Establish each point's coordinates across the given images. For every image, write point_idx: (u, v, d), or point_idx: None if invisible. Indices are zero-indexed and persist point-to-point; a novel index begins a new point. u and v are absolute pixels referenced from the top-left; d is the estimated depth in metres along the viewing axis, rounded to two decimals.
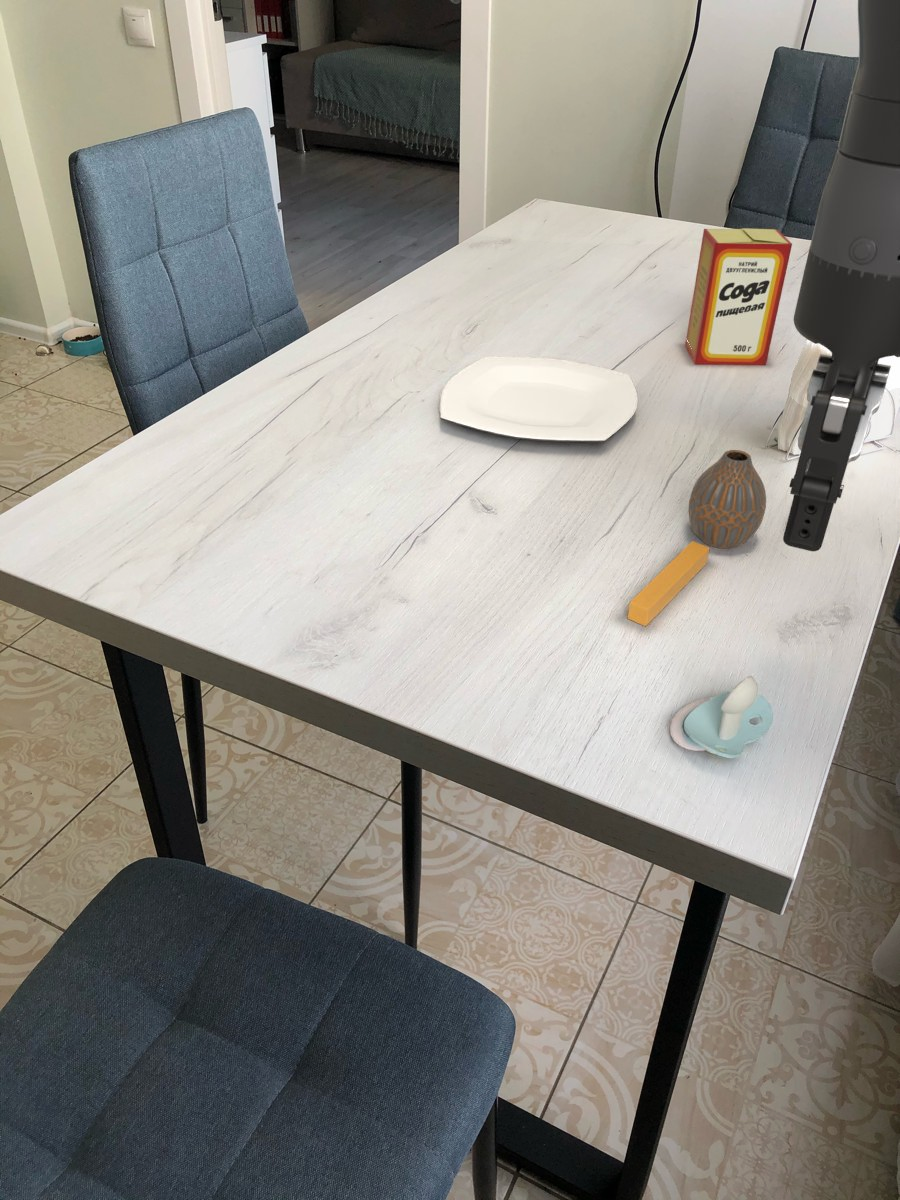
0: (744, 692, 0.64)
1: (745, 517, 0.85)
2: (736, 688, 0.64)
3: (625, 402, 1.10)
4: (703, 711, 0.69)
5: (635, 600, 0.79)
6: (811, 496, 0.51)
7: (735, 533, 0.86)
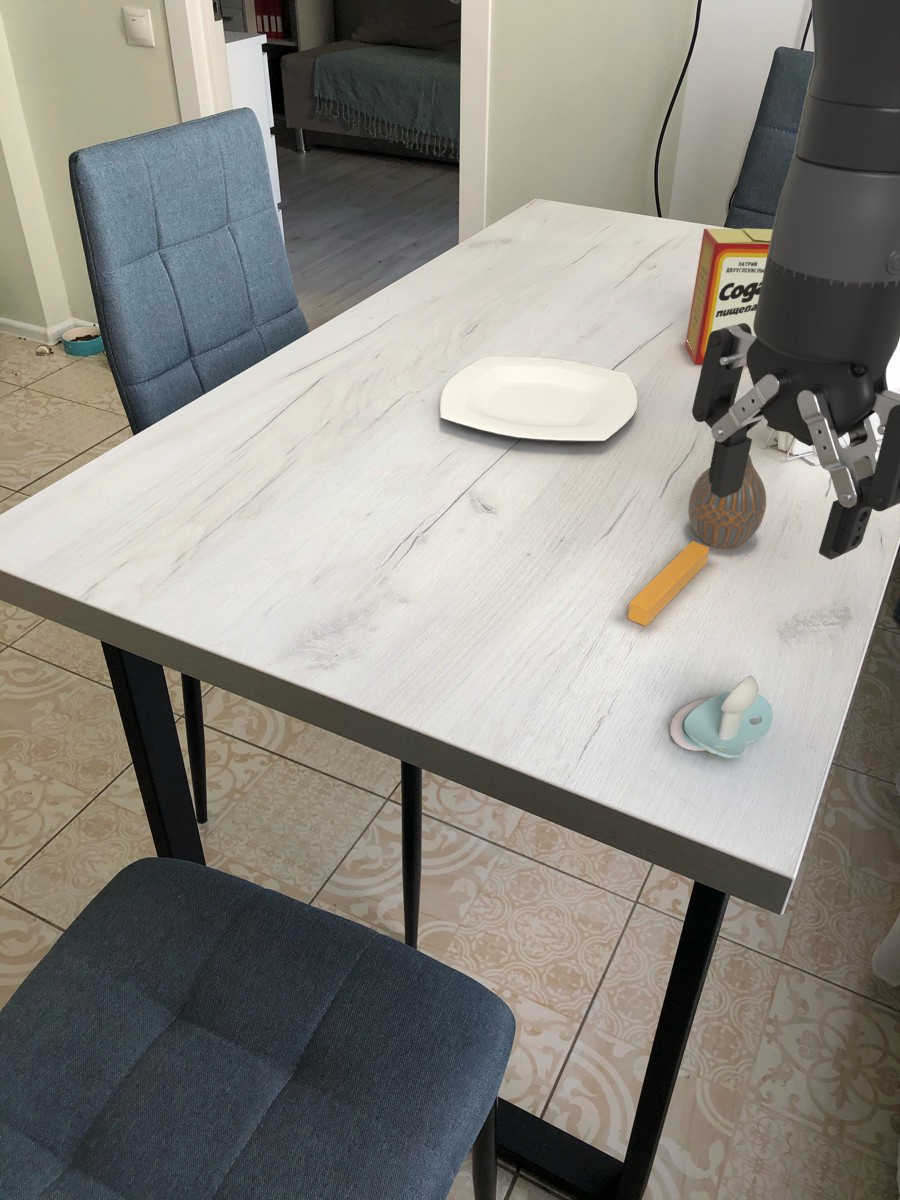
0: (744, 692, 0.64)
1: (745, 517, 0.85)
2: (736, 688, 0.64)
3: (625, 402, 1.10)
4: (703, 711, 0.69)
5: (635, 600, 0.79)
6: (897, 503, 0.50)
7: (735, 533, 0.86)
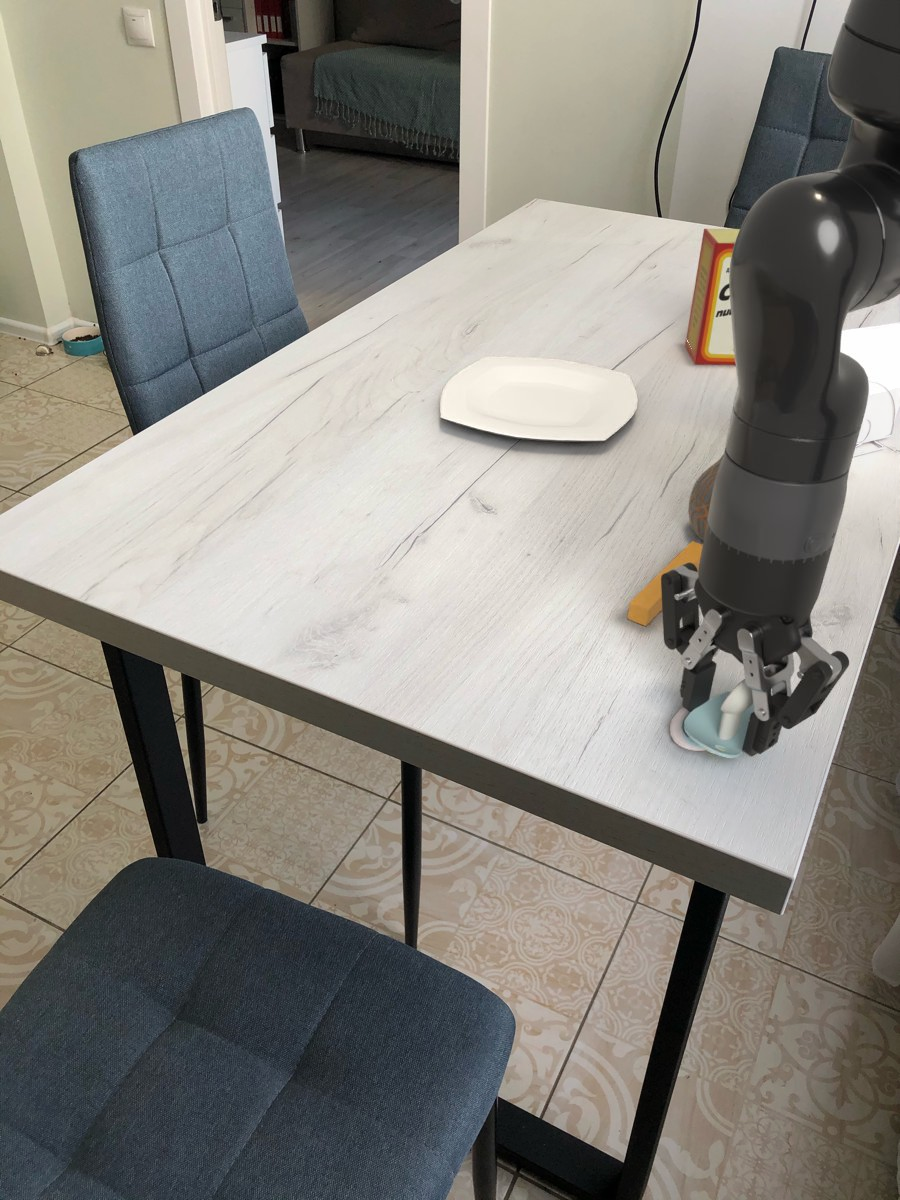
0: (744, 692, 0.64)
1: None
2: (736, 688, 0.64)
3: (625, 402, 1.10)
4: (703, 711, 0.69)
5: (635, 600, 0.79)
6: None
7: None
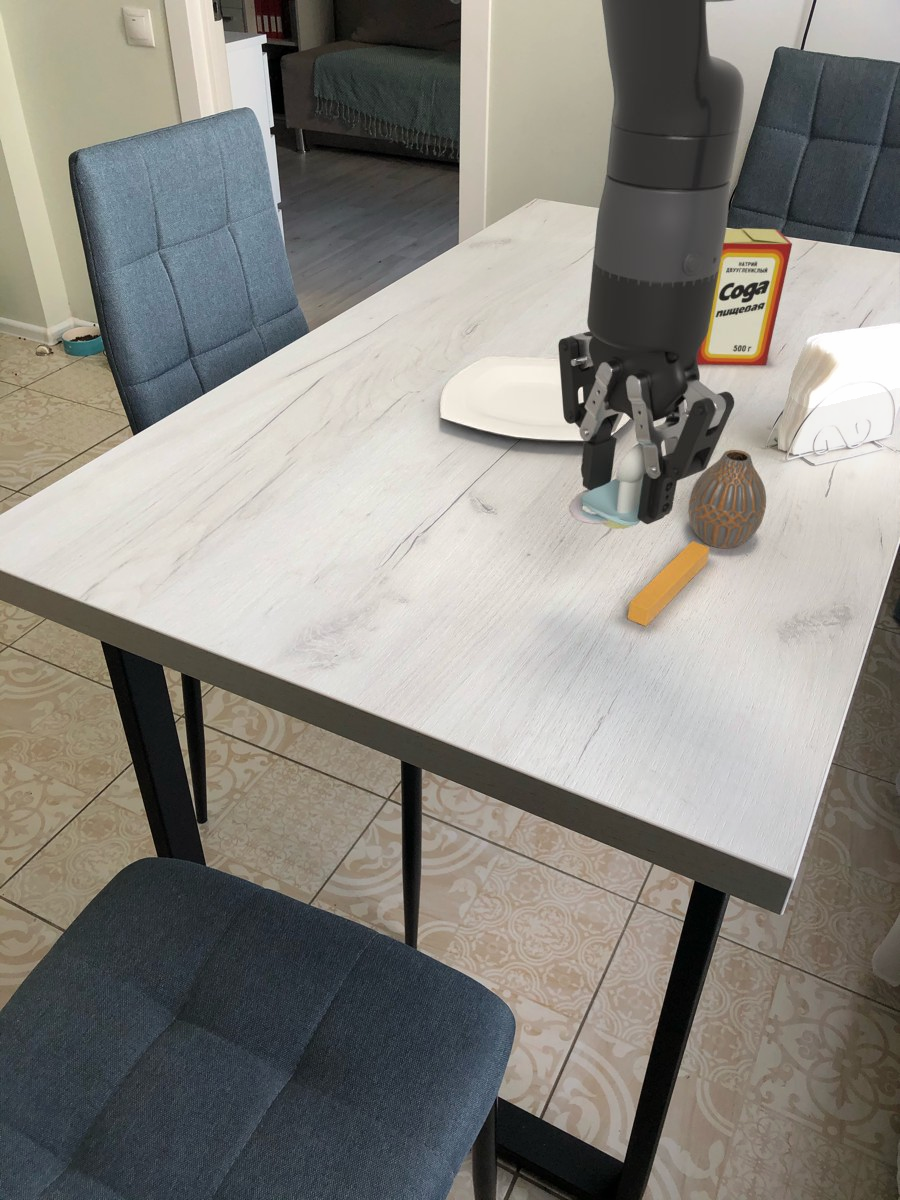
0: (638, 455, 0.63)
1: (745, 517, 0.85)
2: (630, 451, 0.63)
3: None
4: (603, 491, 0.68)
5: (635, 600, 0.79)
6: (691, 474, 0.60)
7: (735, 533, 0.86)
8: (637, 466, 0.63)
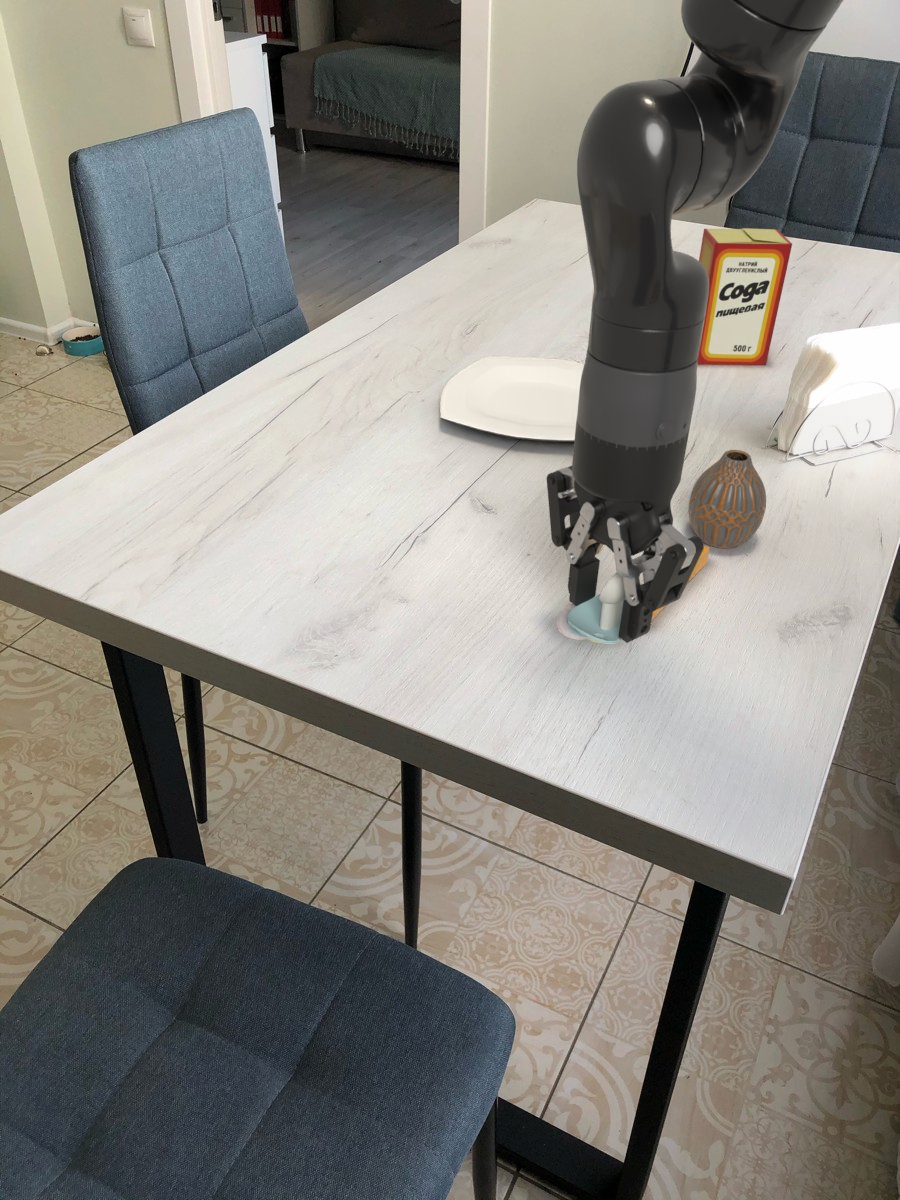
0: (618, 582, 0.69)
1: (745, 517, 0.85)
2: (611, 578, 0.69)
3: None
4: (588, 606, 0.74)
5: None
6: (666, 604, 0.66)
7: (735, 533, 0.86)
8: (618, 591, 0.69)
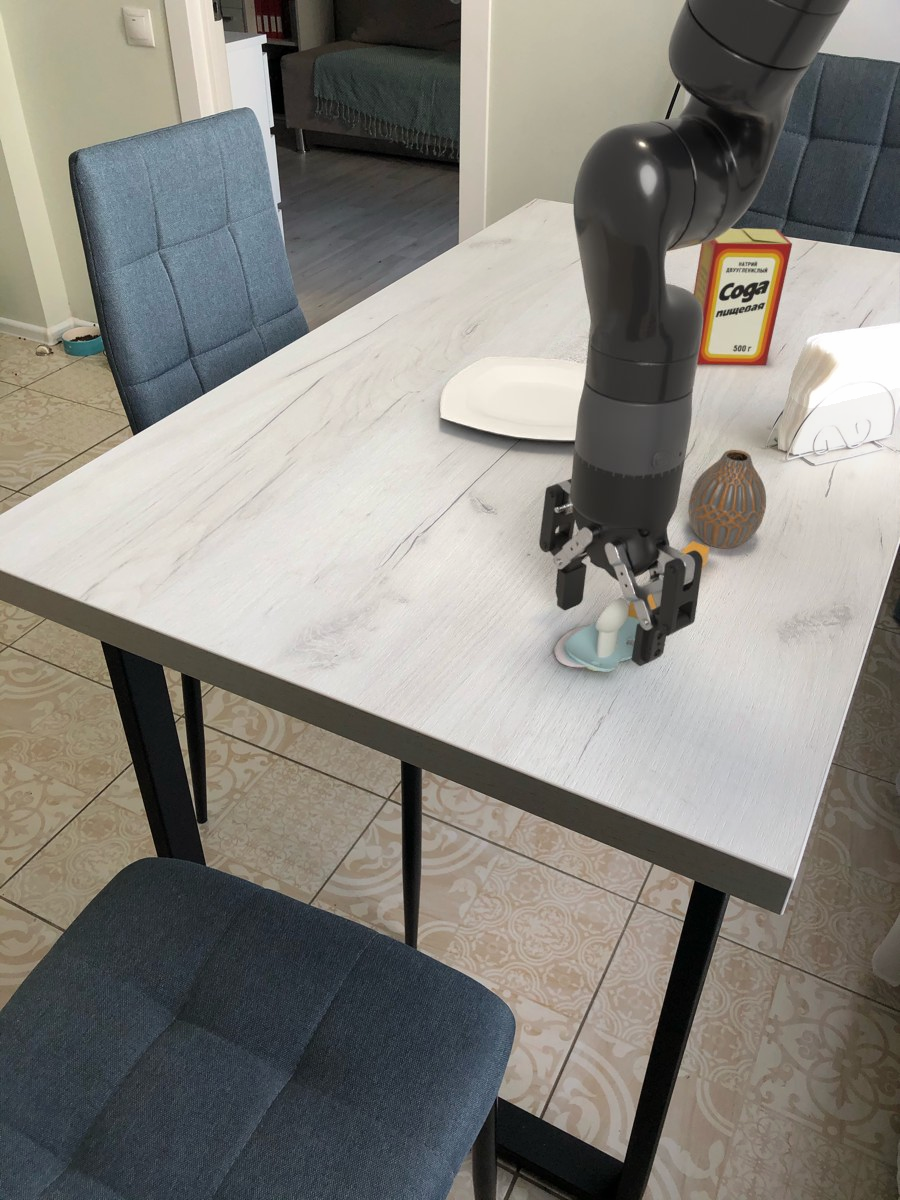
0: (614, 611, 0.71)
1: (745, 517, 0.85)
2: (607, 608, 0.71)
3: None
4: (585, 634, 0.76)
5: None
6: None
7: (735, 533, 0.86)
8: (613, 621, 0.71)
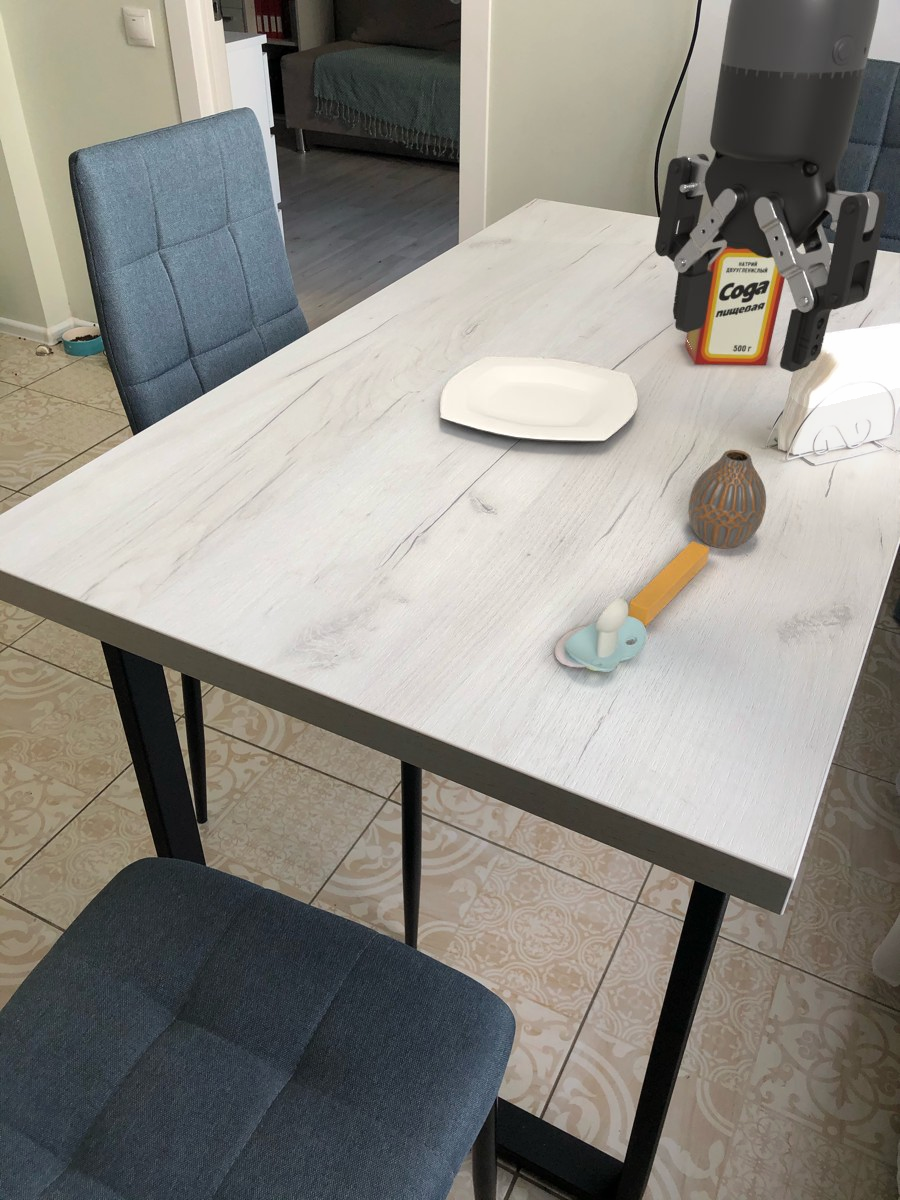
0: (614, 611, 0.71)
1: (745, 517, 0.85)
2: (607, 608, 0.71)
3: (625, 402, 1.10)
4: (585, 634, 0.76)
5: (635, 600, 0.79)
6: (852, 302, 0.53)
7: (735, 533, 0.86)
8: (613, 621, 0.71)
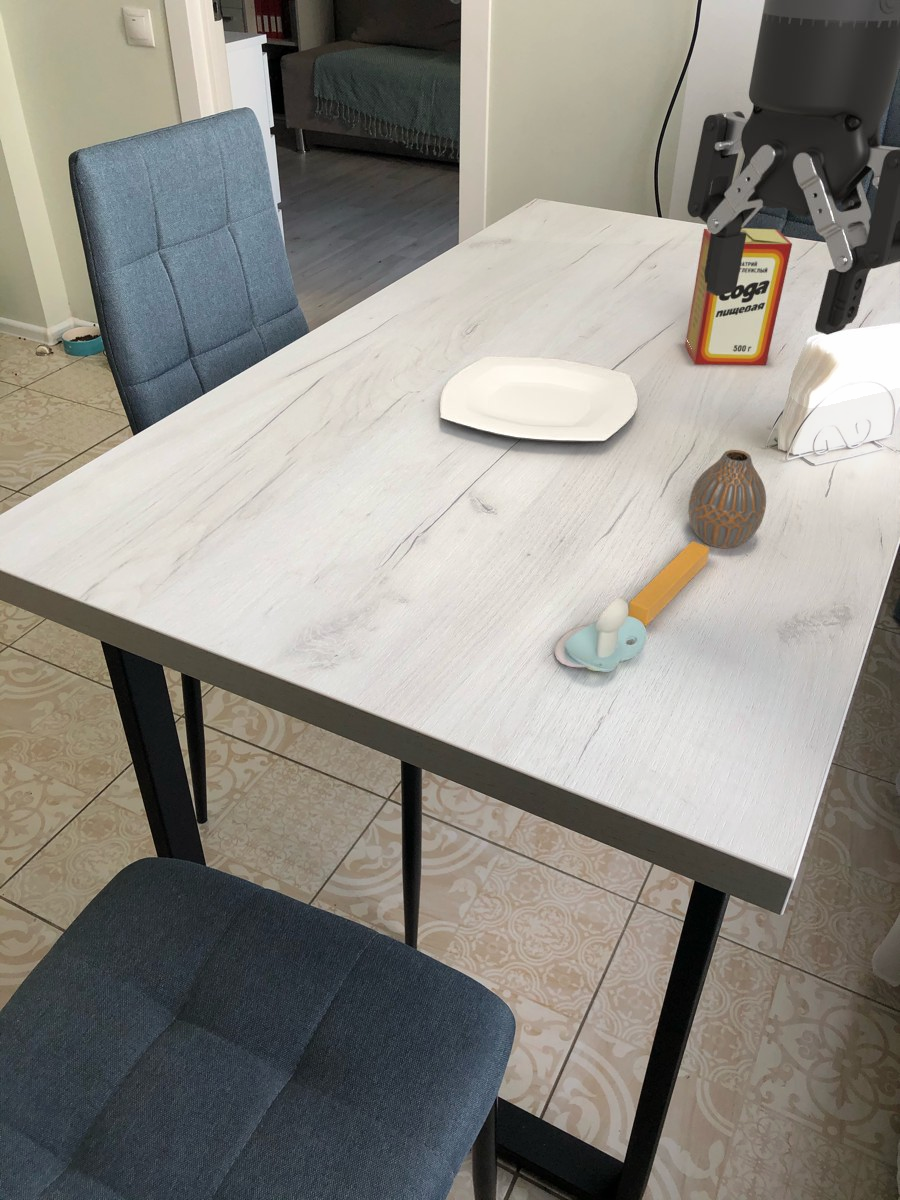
0: (614, 611, 0.71)
1: (745, 517, 0.85)
2: (607, 608, 0.71)
3: (625, 402, 1.10)
4: (585, 634, 0.76)
5: (635, 600, 0.79)
6: (892, 261, 0.52)
7: (735, 533, 0.86)
8: (613, 620, 0.71)
